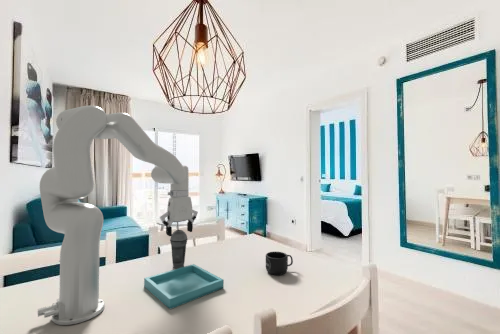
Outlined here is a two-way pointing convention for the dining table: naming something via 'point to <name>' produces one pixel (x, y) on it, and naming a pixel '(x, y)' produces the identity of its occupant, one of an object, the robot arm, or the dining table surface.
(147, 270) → the dining table surface
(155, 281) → the tray
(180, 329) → the dining table surface
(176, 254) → the beverage cup
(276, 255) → the mug
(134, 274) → the dining table surface
